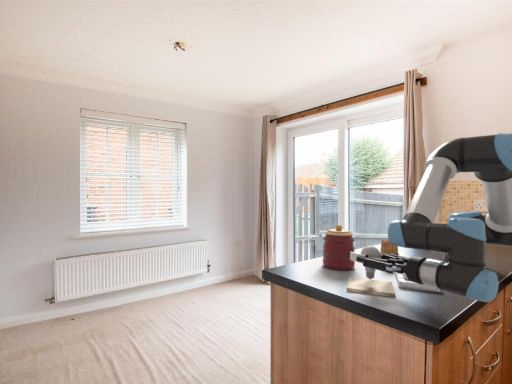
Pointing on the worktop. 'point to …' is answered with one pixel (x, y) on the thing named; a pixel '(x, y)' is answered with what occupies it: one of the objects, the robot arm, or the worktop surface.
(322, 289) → the worktop surface
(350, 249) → the canister
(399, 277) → the collar holder
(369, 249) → the lightbulb
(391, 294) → the birch board
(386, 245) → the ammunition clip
